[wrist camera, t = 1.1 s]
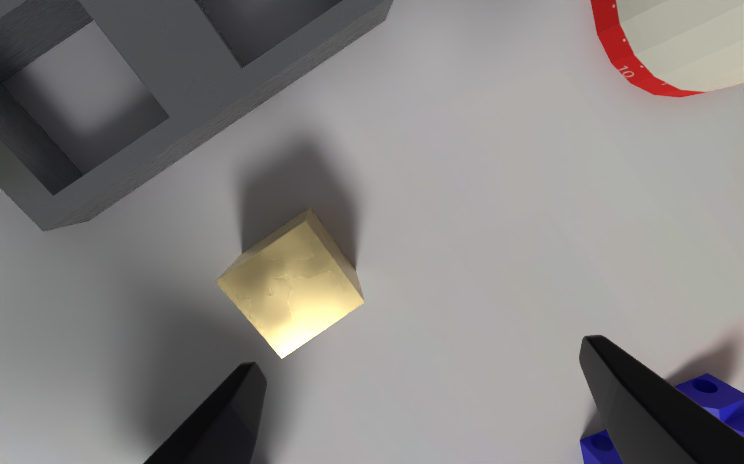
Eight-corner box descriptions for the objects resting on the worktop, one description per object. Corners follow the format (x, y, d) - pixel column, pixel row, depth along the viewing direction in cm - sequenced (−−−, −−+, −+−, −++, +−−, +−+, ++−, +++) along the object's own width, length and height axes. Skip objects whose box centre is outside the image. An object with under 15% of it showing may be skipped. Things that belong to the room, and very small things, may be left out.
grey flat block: (88, 220, 18) (43, 231, 15) (-42, 81, 16) (-122, 63, 13) (385, 20, 18) (396, -8, 15) (293, -146, 16) (286, -213, 13)
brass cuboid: (291, 313, 21) (281, 358, 16) (242, 253, 20) (215, 281, 15) (355, 270, 21) (364, 302, 16) (310, 207, 20) (305, 220, 15)
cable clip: (704, 371, 27) (807, 428, 21) (707, 414, 28) (806, 479, 23) (574, 424, 26) (645, 497, 21) (583, 465, 28) (652, 547, 22)
